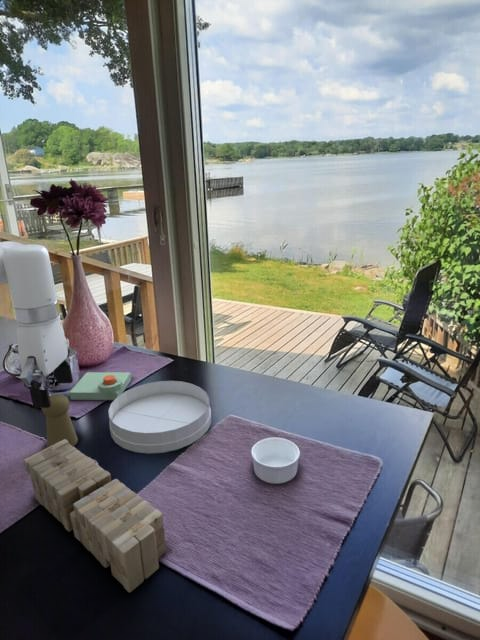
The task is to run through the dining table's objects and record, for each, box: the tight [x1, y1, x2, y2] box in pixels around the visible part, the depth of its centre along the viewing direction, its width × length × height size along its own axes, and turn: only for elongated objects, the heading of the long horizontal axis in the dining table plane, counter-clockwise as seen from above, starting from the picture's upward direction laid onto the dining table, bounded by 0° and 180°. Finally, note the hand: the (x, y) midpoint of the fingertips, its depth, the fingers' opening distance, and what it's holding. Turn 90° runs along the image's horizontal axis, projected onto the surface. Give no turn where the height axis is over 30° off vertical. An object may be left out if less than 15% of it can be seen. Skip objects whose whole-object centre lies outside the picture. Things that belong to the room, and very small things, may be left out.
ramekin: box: [250, 437, 301, 485], centre depth 81 cm, size 9×9×4 cm
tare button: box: [103, 375, 116, 385], centre depth 109 cm, size 3×3×2 cm
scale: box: [69, 371, 132, 401], centre depth 112 cm, size 12×11×4 cm
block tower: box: [23, 439, 167, 593], centre depth 70 cm, size 8×8×29 cm
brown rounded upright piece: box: [41, 393, 79, 448], centre depth 90 cm, size 6×6×11 cm
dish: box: [108, 380, 212, 454], centre depth 97 cm, size 22×22×5 cm
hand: (54, 394), depth 87 cm, fingers open, 9 cm apart
